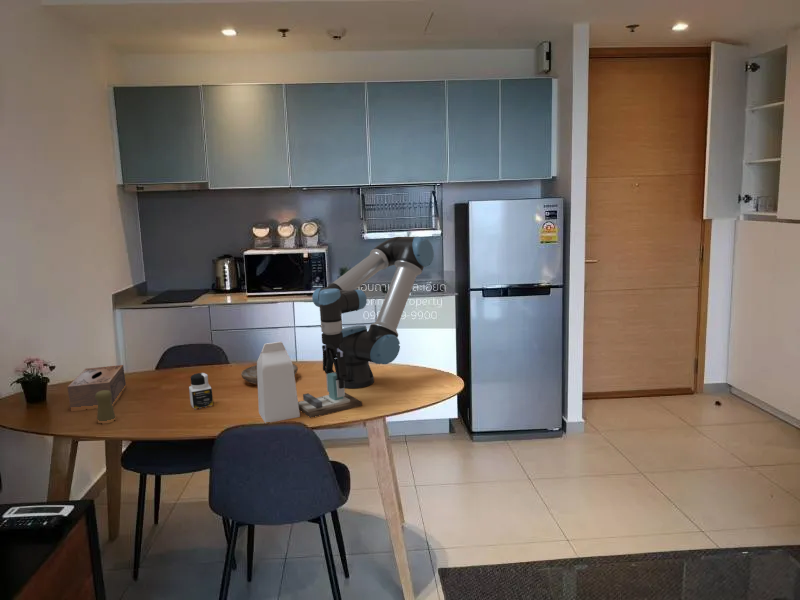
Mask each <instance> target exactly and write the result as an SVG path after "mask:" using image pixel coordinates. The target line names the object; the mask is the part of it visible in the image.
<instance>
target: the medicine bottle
mask: <svg viewBox="0 0 800 600" xmlns="http://www.w3.org/2000/svg"><path fill="white" fill-rule="evenodd" d="M188 390H189V391H188V392H189V401H190V406H191V407H192V409H193V408H194V409H193V410H197V409H196V408H199V409H202V408H201V407H205V408H207V407H206V406H210V407H213V406H214V399H213V398H214V397H213V389H212V387H211V385H210V384H209V377H208V374H207V373H205V372H198V373H194V374H192V375H191V376H190V386H188ZM212 405H213V406H212Z"/></svg>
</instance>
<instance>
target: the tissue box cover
mask: <svg viewBox="0 0 800 600" xmlns="http://www.w3.org/2000/svg"><path fill="white" fill-rule="evenodd" d="M126 383H127V382H126V375H125V366H124V364H119V365H118V364H117V365H110V366H99V367H91V368H90V367H89V368H87V367H86V368H84V370H83V371H82V372H81V373H79V374H78V375H77V377H76V378H74V380H73V381H72V382H70V383H69V384H68V385H67V394H68V400H69V401H68V402H69V407H70V408H71V407H81V406H93V405H98V401H97V400H96V398H95V395H96V393H97V392H99V391H102V390H109V391H110V392H111V394H112V397H111V403H112V404H113V402H114V401H115V399H116V398H117V396H118V395H119V393H120V392H121V391H122V389H123V388H124V386H125V385H126V386H127V384H126Z"/></svg>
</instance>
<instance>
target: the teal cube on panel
mask: <svg viewBox="0 0 800 600" xmlns="http://www.w3.org/2000/svg"><path fill="white" fill-rule="evenodd" d="M336 379H337V375H336V371H334V372H332V373H328V386H329V392H328V394H327V395H322V397H324V398H326V399H327V400H329V401H331V402H332V403H334V406H337V405H341V404H345V403H349V402H350V399H348V398H346V397H344V396H343V397H337V386H336Z"/></svg>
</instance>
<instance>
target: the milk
mask: <svg viewBox="0 0 800 600" xmlns="http://www.w3.org/2000/svg"><path fill="white" fill-rule="evenodd" d="M258 356H259V357H258V359H257V361H256V365H257V381H258V384H257V397H258V400H257V401H258V402H257V404H258V414H259V415H260V417H261V419H262V421H263V422H264V424H267V423H266V422H270V423H275V422H279V421H286V420H290V419H296V418H300V417H301V413H300V410H299V406H298V402H299V400H298V392H297V384H296V378H295V375H294V368H293V364H294V363H293V362H292V359H291V357H290V355H289V353H288V351H287V350H286V347H285V345H284V343H283V341H275V342H268V343H264V344H263V347H262V348H261V352H260V354H259V355H258Z"/></svg>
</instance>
